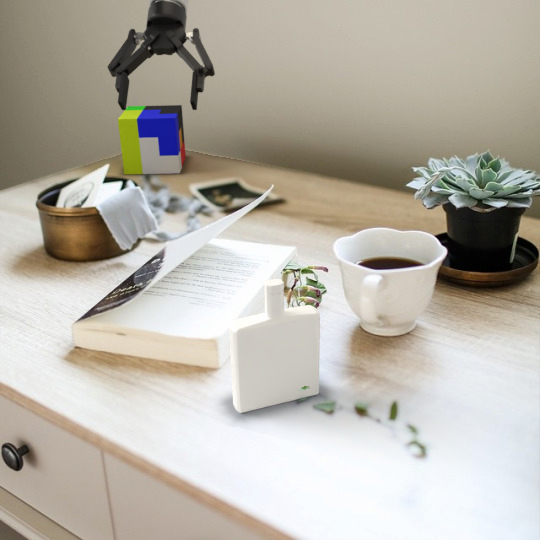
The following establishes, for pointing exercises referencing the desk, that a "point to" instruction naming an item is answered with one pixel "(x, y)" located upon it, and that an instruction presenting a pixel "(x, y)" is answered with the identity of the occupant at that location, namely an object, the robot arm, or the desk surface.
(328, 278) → the desk surface
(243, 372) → the perfume bottle
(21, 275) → the desk surface
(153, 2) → the robot arm
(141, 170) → the puzzle toy
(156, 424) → the desk surface
